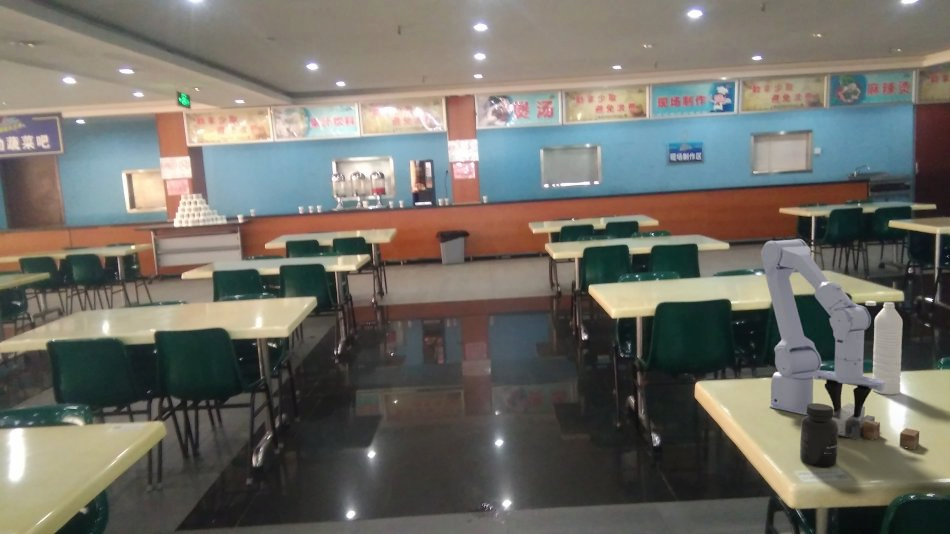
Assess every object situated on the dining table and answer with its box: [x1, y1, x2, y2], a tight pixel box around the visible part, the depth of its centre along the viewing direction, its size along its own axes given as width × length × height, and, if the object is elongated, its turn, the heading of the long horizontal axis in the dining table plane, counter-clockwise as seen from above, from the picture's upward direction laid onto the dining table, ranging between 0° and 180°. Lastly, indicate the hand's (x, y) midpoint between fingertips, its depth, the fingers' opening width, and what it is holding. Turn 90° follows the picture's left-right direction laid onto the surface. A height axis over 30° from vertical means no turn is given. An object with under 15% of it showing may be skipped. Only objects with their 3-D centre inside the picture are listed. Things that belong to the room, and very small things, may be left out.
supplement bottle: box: [799, 402, 839, 469], centre depth 132 cm, size 7×7×12 cm
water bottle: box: [864, 300, 904, 396], centre depth 174 cm, size 9×6×25 cm
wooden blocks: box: [861, 420, 920, 450], centre depth 142 cm, size 10×4×3 cm, turn 42°
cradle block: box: [833, 409, 876, 441], centre depth 149 cm, size 9×10×3 cm
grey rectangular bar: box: [832, 402, 866, 437], centre depth 149 cm, size 4×13×4 cm, turn 132°
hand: (847, 414), depth 149 cm, fingers closed on grey rectangular bar, 4 cm apart
